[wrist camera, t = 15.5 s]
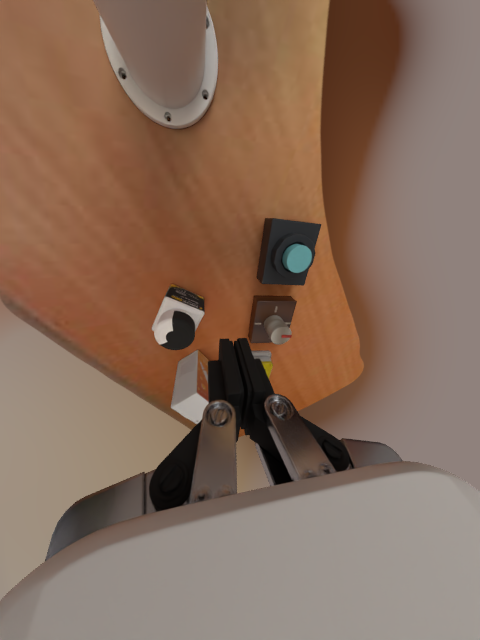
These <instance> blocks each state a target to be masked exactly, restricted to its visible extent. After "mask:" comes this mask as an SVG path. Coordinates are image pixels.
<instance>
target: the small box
mask: <svg viewBox="0 0 480 640" xmlns="http://www.w3.org/2000/svg"><path fill="white" fill-rule="evenodd" d="M208 361H209V360H208V359H207V358H206V357H205V356H204V355H203V354H202V353H201V352H200V351H199V350H196V351H195V352H193V353H191V354H190V355H188V356H187V357H185V358H183V359H182V360H180V361H179V362H178V367H177V373H176V379H175V385H174V391H173V397H172V403H171V408H172V409H174V410H175V411H177V412H178V413H180V414H181V415H182V416H184V417H185V418H187V419H189V420H191V421H193V422H194V423H196V424H197V423H199V422H200V421H201V420H202V416H203V412H204V409H205V407H206V406H207V405H208V404H209V399H208Z"/></svg>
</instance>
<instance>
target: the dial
mask: <svg viewBox="0 0 480 640" xmlns="http://www.w3.org/2000/svg"><path fill="white" fill-rule="evenodd" d="M264 328H265V330H266V332H267V333H268V335H269V337H270V339H271V341H272V342H273V343H275V344H283V343H285V342H287V341H288V340H289V339H290V338H291V336H292V335H291V330H290V329H289V327H288V326H287V325H286V324H285V322H284V321H283V320H282V318H281V317H280V316H278V315H272V316H269V317H268V318H267V319H266V320H265V322H264Z"/></svg>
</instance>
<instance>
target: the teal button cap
mask: <svg viewBox="0 0 480 640" xmlns="http://www.w3.org/2000/svg"><path fill="white" fill-rule="evenodd" d="M311 259H312V254H311V251H310V249H309V248H308V247H306V246H304V245H300V244H293V245H291V246H289V247H288V248H287V249H286V250H285V252H284V254H283V257H282V262H283V265H284V267H285V268H287V269H288V270H290V271H291V272H294V273H300V272H302V271H304V270H305V269H306V268H307V267H308V266H309V265H310V262H311Z"/></svg>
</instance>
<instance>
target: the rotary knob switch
mask: <svg viewBox="0 0 480 640" xmlns="http://www.w3.org/2000/svg"><path fill="white" fill-rule="evenodd" d="M296 302H297V301H295V300H294V299H293V298H292V297H291V296H254V299H253V306H252V313H251V320H250V327H249V334H248V337H249V339H250V342H251V343H269V342H272V341H271V339H270V337H269V335H268V333H267V332H266V330H265V328H264V322H265V320H266V319H267V318H268V317H269V316H272V315H278V316H280V317H281V318H282V320H283V321H284V322H285V324H286V325H287V326H288V327H289V328H290V324H291V320H292V317H293V313H294V309H295V306H296Z"/></svg>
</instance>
